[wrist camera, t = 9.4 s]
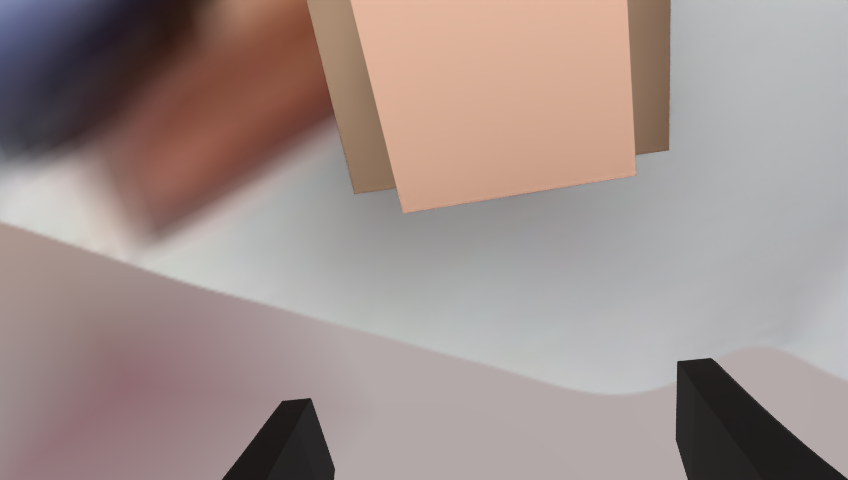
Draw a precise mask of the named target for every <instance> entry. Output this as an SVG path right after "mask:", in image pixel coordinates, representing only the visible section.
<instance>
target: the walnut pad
mask: <svg viewBox="0 0 848 480" xmlns="http://www.w3.org/2000/svg"><path fill="white" fill-rule="evenodd" d="M307 3H308V8H309V12H310V16H311V20H312V24H313V28H314V32H315V36H316V40H317V44H318V48H319V52H320V56H321V60H322V64H323V68H324V72H325V76H326V81H327V85H328V89H329V93H330V97H331V101H332V105H333V109H334V113H335V117H336V121H337V125H338V129H339V133H340V137H341V141H342V145H343V149H344V154H345V158H346V162H347V166H348V170H349V174H350V178H351V182H352V186H353V190H354V194H359V193H366V192H373V191H380V190H388V189H395V188H397V187H396V183H395V179H394V175H393V171H392V167H391V163H390V159H389V155H388V151H387V146H386V142H385V138H384V134H383V130H382V126H381V122H380V118H379V114H378V110H377V106H376V102H375V98H374V94H373V90H372V86H371V82H370V77H369V73H368V69H367V65H366V61H365V57H364V53H363V49H362V45H361V41H360V37H359V33H358V29H357V25H356V21H355V17H354V13H353V8H352V4H351V0H307ZM627 6H628V26H629V45H630V64H631V83H632V103H633V122H634V141H635V155H639V154H646V153H653V152H660V151H667V150H669V99H670V0H627Z"/></svg>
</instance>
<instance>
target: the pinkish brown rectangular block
mask: <svg viewBox="0 0 848 480" xmlns="http://www.w3.org/2000/svg"><path fill="white" fill-rule="evenodd" d="M351 4H352V8H353V13H354V17H355V21H356V25H357V29H358V33H359V37H360V41H361V45H362V49H363V53H364V57H365V61H366V65H367V69H368V73H369V77H370V82H371V86H372V90H373V94H374V98H375V102H376V106H377V110H378V114H379V118H380V122H381V126H382V130H383V134H384V138H385V142H386V146H387V151H388V155H389V159H390V163H391V167H392V171H393V175H394V179H395V183H396V187H397V191H398V195H399V199H400V203H401V207H402V211H403V213H409V212H416V211H422V210H428V209H434V208H440V207H446V206H452V205H458V204H464V203H470V202H477V201H483V200H489V199H495V198H501V197H507V196H513V195H519V194H525V193H532V192H538V191H544V190H550V189H556V188H562V187H568V186H574V185H580V184H587V183H593V182H599V181H605V180H611V179H617V178H623V177H629V176H635V175H636V160H635V141H634V122H633V103H632V83H631V64H630V45H629V26H628V6H627V0H351Z"/></svg>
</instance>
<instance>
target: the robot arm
mask: <svg viewBox="0 0 848 480" xmlns="http://www.w3.org/2000/svg"><path fill="white" fill-rule="evenodd" d="M676 406H677V408H676V442H677V445H678V448H679V452H680V455H681V458H682V462H683V465H684V468H685V472H686V475H687V478H688V480H848V479H847V478H846V477H844V476H843V475H842V474H841V473H840V472H838V471H837V470H836V469H834V468H833V467H832V466H830V465H829V464H828V463H827V462H826V461H824V460H823V459H822V458H821V457H819V456H818V455H817V454H816V453H815V452H813V451H812V450H811V449H810V448H808V447H807V446H806V445H805V444H804V443H803V442H802V441H800V440H799V439H798V438H797V437H796V436H795V435H793V434H792V433H791V432H790V431H789V430H788V429H787V428H785V427H784V426H783V425H782V424H781V423H780V422H779V421H777V420H776V419H775V418H774V417H773V416H772V415H771V414H770V413H769V412H768V411H766V410H765V409H764V408H763V407H762V406H761V405H760V404H759V403H758V402H757V401H756V400H755V399H754V398H753V397H751V396H750V395H749V394H748V393H747V392H746V391H745V390H744V389H743V388H742V387H741V386H740V385H739V384H738V383H737V382H736V381H735V380H734V379H733V378H732V377H731V376H730V375H729V374H728V373H727V372H725V370H723V368H722V367H721V366H720V365H719V364H718V363H717V362H715V361H714V360H713V359H712V358H706V359H696V360H686V361H677V405H676ZM334 473H335V468H334V465H333V462H332V459H331V456H330V453H329V450H328V447H327V444H326V441H325V438H324V435H323V432H322V429H321V426H320V423H319V420H318V417H317V415H316V412H315V409H314V406H313V403H312V400H311V398H308V399H298V400H288V401H282V402H281V403H280V405H279V406H278V407H277V409H276V410H275V411H274V412H273V414H272V415H271V416H270V418H269V419H268V420H267V422H266V423H265V424H264V426H263V427H262V428H261V429H260V431H259V432H258V433H257V435H256V436H255V438H254V439H253V440H252V441H251V443H250V444H249V446H248V447H247V448H246V449H245V451H244V452H243V453H242V455H241V456H240V457H239V459H238V460H237V461H236V462H235V464H234V465H233V466H232V468H231V469H230V470H229V471H228V472H227V474H226V475H225V476H224V478H223V479H222V480H334Z"/></svg>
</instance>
